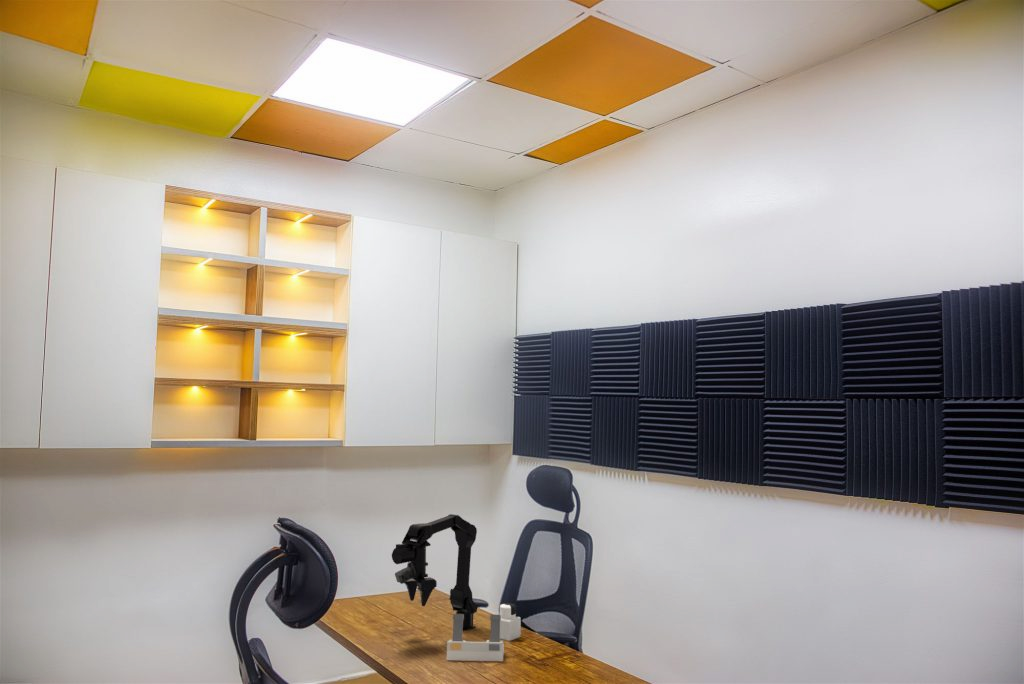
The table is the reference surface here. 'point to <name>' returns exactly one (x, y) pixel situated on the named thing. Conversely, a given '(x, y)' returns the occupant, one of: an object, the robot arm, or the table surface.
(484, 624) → the table surface
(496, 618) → the lever
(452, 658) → the switch box
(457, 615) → the lever
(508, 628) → the medicine bottle
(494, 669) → the table surface
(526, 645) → the table surface
